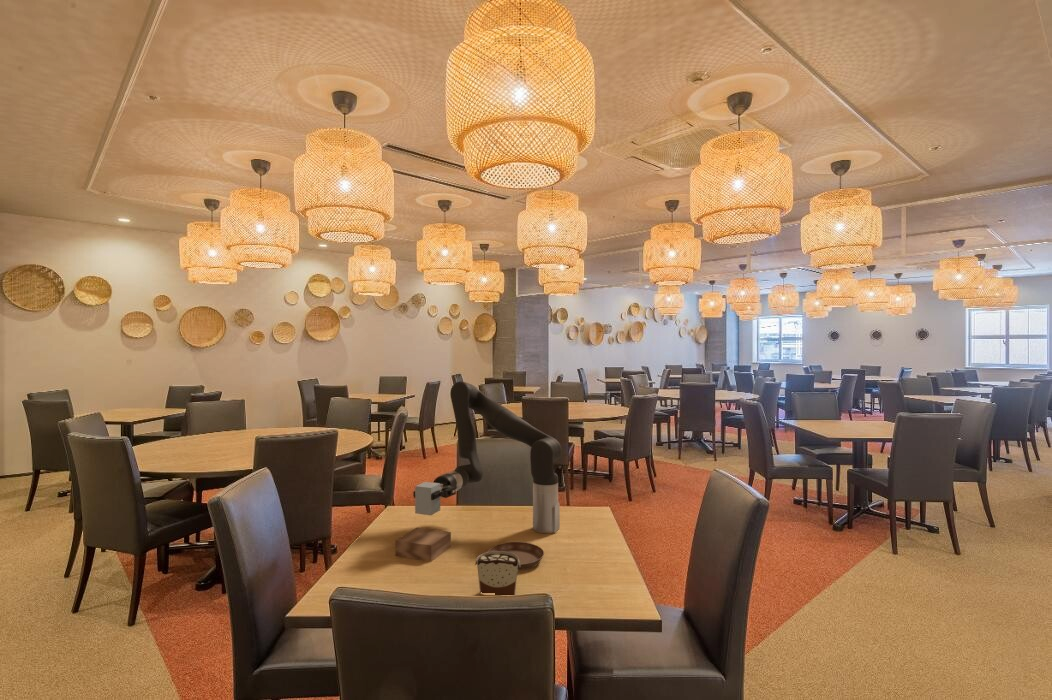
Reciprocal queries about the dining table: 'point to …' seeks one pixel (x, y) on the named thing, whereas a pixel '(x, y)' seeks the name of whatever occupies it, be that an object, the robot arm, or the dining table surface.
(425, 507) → the slate block
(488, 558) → the cake slice
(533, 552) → the plant saucer
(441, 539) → the walnut block
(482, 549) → the dining table surface
